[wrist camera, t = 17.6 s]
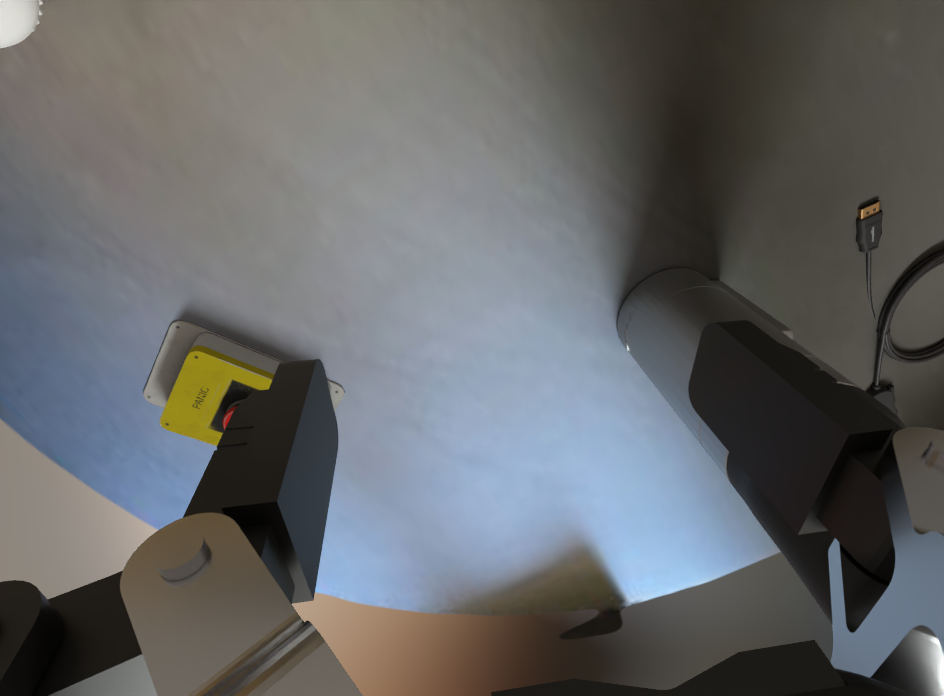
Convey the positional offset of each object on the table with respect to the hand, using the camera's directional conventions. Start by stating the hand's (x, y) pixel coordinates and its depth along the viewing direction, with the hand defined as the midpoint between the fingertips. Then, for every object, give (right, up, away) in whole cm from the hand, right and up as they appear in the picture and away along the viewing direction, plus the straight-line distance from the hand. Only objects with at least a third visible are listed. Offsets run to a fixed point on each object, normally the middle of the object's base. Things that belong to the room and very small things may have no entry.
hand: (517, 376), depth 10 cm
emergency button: (-21, -3, +33) cm, 39 cm away
